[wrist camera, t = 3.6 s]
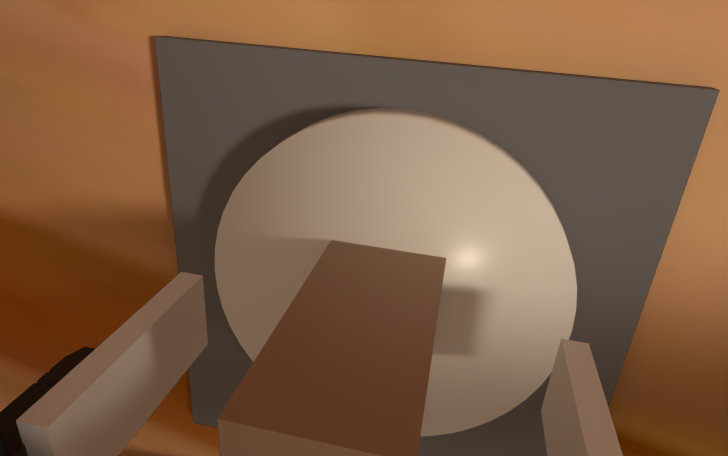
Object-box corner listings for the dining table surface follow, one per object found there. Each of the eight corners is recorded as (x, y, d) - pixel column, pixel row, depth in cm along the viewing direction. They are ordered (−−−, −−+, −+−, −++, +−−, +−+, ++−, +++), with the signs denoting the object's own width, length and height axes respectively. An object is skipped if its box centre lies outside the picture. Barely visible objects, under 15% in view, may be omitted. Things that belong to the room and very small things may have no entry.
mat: (712, 87, 15) (719, 90, 15) (570, 498, 23) (571, 508, 22) (162, 35, 18) (154, 36, 18) (198, 415, 26) (193, 422, 25)
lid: (614, 131, 16) (783, 301, 7) (529, 437, 21) (562, 754, 12) (224, 88, 18) (-33, 175, 9) (238, 376, 23) (86, 609, 14)
